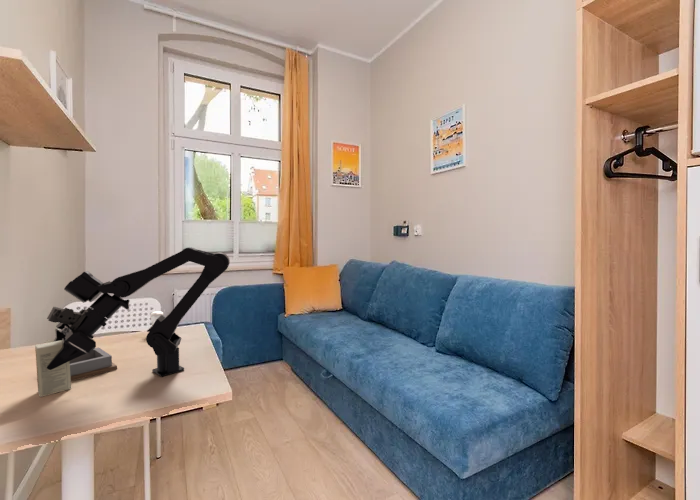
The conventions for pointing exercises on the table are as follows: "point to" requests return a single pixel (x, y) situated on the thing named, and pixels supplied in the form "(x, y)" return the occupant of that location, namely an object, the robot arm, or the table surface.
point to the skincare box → (53, 378)
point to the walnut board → (93, 372)
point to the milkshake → (155, 316)
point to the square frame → (90, 362)
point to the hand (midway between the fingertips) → (45, 364)
